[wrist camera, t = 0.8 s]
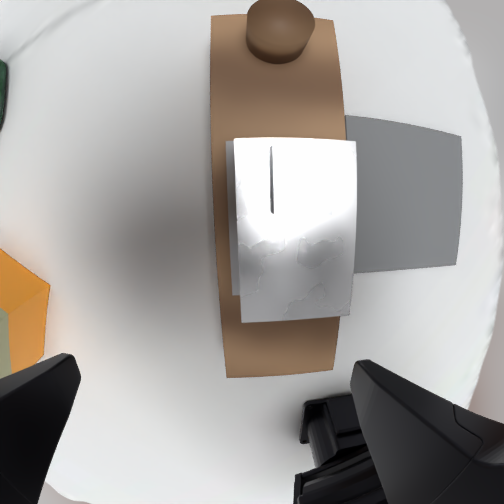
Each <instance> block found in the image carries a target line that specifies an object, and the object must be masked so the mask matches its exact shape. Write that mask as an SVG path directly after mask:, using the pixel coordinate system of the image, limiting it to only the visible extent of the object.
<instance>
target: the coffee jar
mask: <svg viewBox="0 0 504 504" xmlns="http://www.w3.org/2000/svg"><path fill="white" fill-rule="evenodd" d="M5 85H6V66H5V64H4V62H3V61H2V60H0V123H1V120H2V115H3V107H4V97H5Z"/></svg>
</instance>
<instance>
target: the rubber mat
mask: <svg viewBox="0 0 504 504" xmlns="http://www.w3.org/2000/svg"><path fill="white" fill-rule="evenodd" d="M344 117H345V134H346V141H356V160H357V215H356V241H355V258H354V271H353V273H365V272H379V271H392V270H405V269H417V268H428V267H440V266H450V265H456V260H457V253H458V245H459V236H460V226H461V212H462V185H463V171H462V144H461V136H457V135H454V134H450V133H446V132H442V131H438V130H434V129H429V128H425V127H420V126H415V125H410V124H405V123H399V122H393V121H387V120H381V119H374V118H366V117H358V116H349V115H345V116H344Z"/></svg>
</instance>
